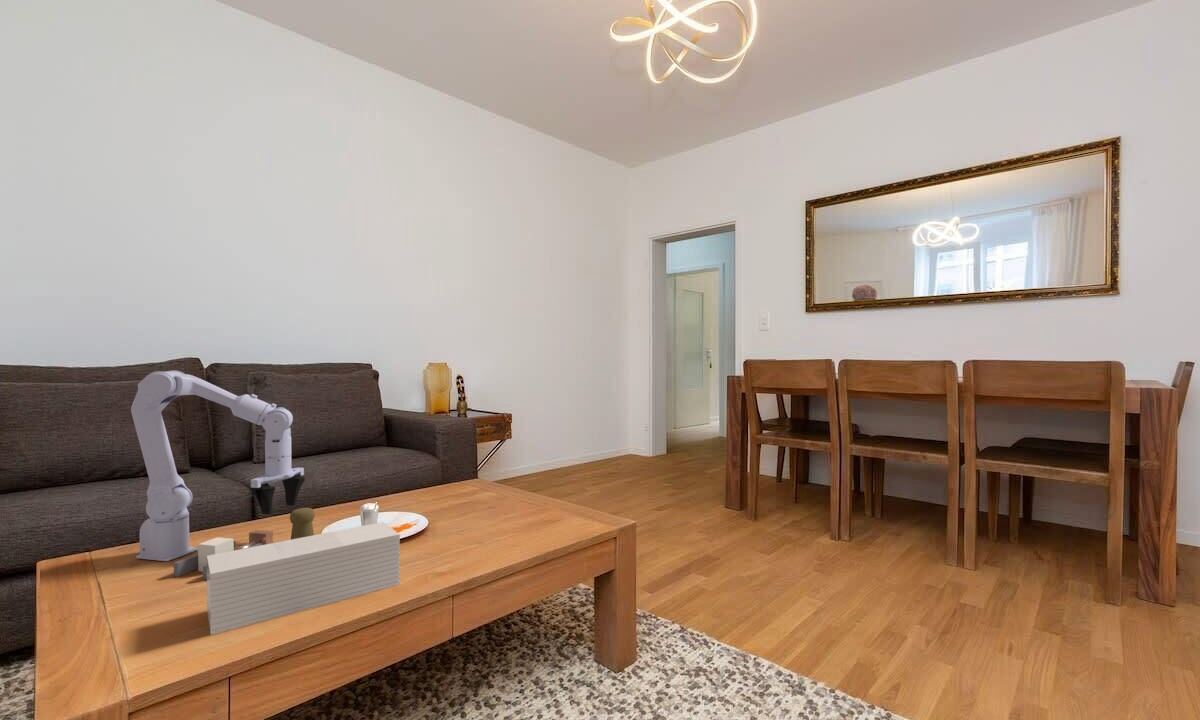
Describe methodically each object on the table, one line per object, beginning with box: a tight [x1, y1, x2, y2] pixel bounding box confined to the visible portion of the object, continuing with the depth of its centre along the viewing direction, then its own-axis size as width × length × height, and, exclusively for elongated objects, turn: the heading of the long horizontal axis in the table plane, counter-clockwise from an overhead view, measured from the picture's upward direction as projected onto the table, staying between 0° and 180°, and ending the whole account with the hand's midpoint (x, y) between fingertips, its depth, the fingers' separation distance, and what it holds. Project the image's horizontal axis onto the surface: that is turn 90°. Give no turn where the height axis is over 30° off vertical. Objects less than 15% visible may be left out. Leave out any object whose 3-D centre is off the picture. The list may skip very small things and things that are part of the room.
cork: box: [289, 507, 316, 540], centre depth 129 cm, size 6×6×11 cm
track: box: [173, 540, 263, 581], centre depth 122 cm, size 9×14×3 cm, turn 167°
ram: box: [234, 529, 274, 550], centre depth 129 cm, size 6×10×4 cm, turn 167°
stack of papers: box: [206, 521, 401, 636], centre depth 106 cm, size 32×11×11 cm, turn 129°
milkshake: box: [359, 501, 380, 526], centre depth 139 cm, size 4×5×10 cm
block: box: [197, 537, 235, 572], centre depth 121 cm, size 5×5×6 cm
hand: (278, 509), depth 136 cm, fingers open, 7 cm apart
